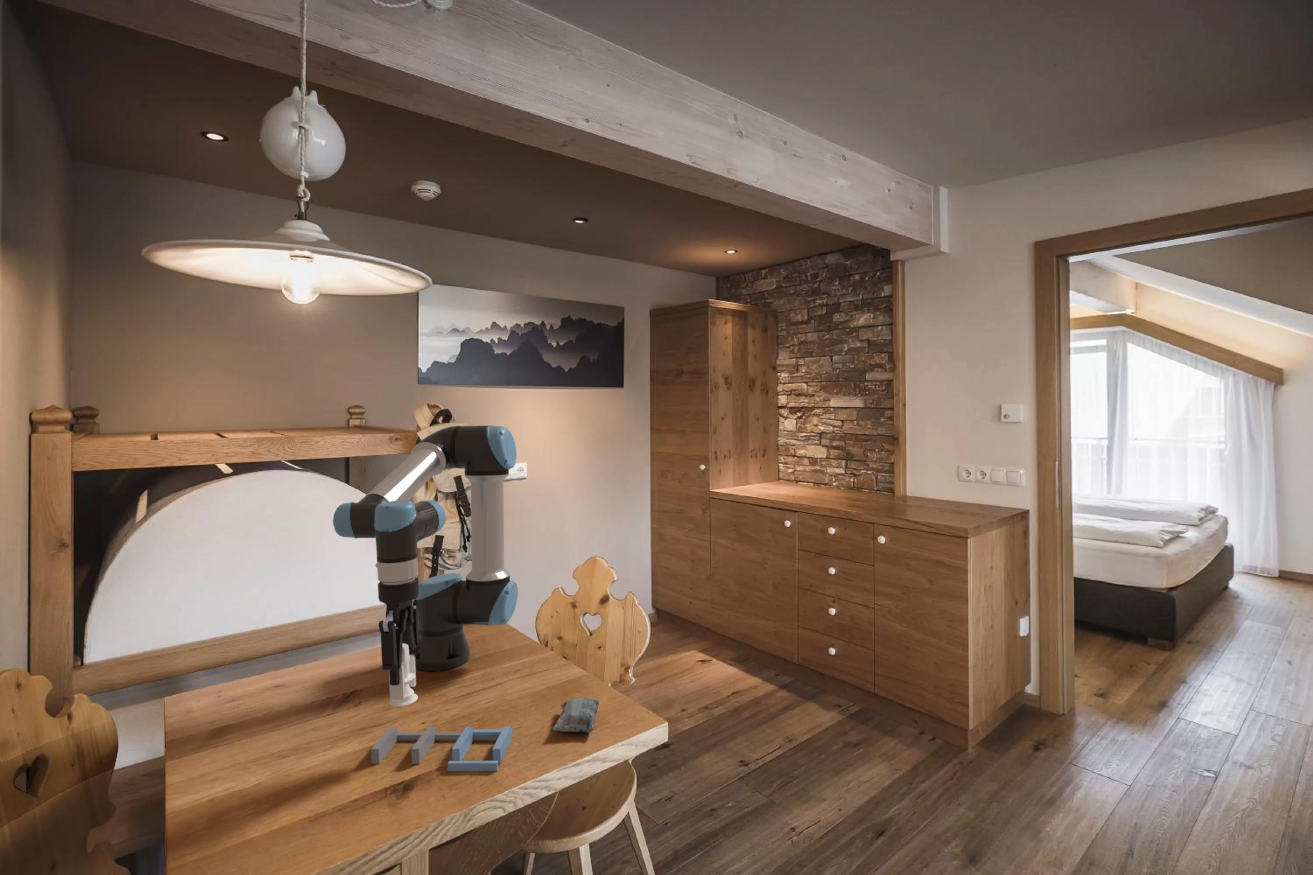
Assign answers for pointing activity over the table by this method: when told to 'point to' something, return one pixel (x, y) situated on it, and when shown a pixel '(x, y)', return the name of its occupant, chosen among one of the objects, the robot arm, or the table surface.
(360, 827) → the table surface
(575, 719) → the packaged food
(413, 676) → the candle
